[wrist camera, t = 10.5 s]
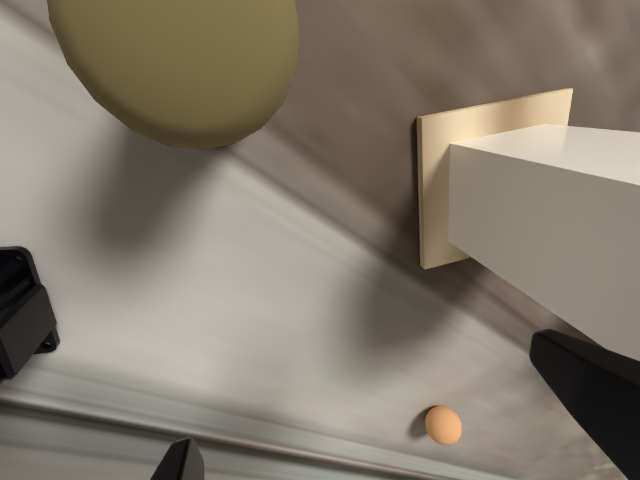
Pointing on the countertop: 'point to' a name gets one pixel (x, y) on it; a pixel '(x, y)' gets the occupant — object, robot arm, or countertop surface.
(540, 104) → the coaster
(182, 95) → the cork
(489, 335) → the countertop surface
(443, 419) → the ball
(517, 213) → the knobbed white block
